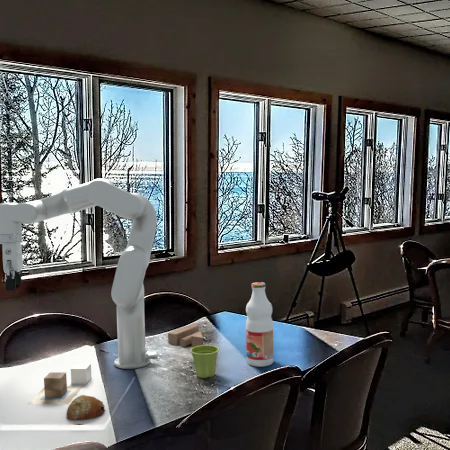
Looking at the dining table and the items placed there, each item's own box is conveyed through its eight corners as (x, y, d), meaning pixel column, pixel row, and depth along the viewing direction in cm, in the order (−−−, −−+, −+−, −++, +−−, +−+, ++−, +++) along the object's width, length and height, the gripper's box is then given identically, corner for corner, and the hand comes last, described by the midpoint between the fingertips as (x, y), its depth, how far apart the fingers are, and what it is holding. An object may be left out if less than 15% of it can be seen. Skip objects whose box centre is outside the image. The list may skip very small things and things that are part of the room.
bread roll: (78, 423, 165) (64, 399, 164) (110, 406, 165) (96, 382, 164) (71, 439, 155) (57, 413, 154) (106, 421, 155) (91, 395, 154)
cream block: (91, 381, 188) (90, 363, 187) (87, 387, 183) (86, 368, 182) (76, 381, 188) (75, 363, 187) (71, 387, 183) (70, 368, 182)
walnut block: (67, 391, 176) (66, 372, 175) (61, 398, 171) (60, 378, 170) (51, 391, 176) (49, 372, 175) (44, 398, 171) (43, 378, 170)
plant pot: (213, 381, 185) (212, 354, 184) (186, 378, 188) (185, 352, 187) (223, 371, 193) (223, 346, 193) (197, 369, 197) (197, 344, 196)
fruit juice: (276, 366, 198) (275, 285, 195) (249, 368, 196) (247, 286, 194) (270, 357, 207) (268, 280, 204) (244, 359, 205) (242, 281, 203)
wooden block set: (165, 330, 227) (192, 320, 242) (166, 345, 227) (193, 333, 242) (201, 336, 217) (227, 325, 232) (201, 350, 218) (227, 338, 233)
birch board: (83, 390, 180) (83, 386, 180) (68, 408, 166) (68, 404, 166) (45, 390, 181) (45, 386, 181) (27, 408, 167) (27, 404, 167)
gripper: (17, 241, 192) (20, 291, 193) (26, 235, 209) (29, 282, 210) (-7, 242, 190) (-4, 293, 192) (4, 236, 207) (8, 283, 209)
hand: (13, 287), depth 201 cm, fingers open, 9 cm apart
